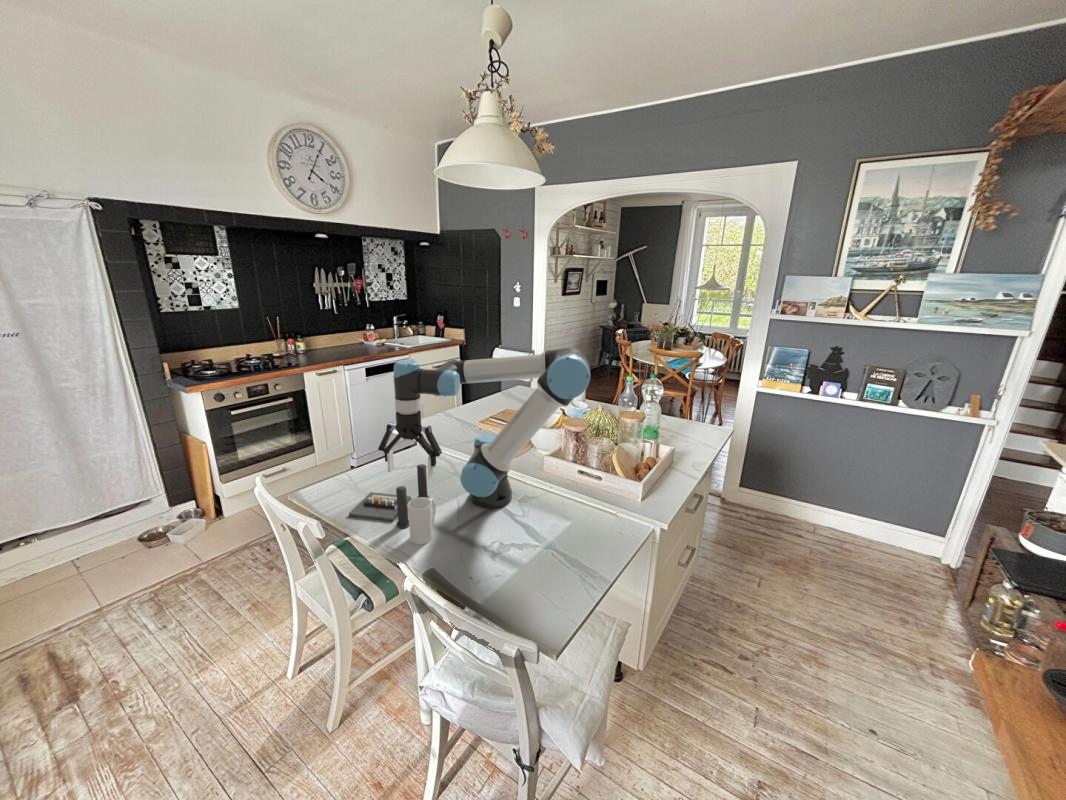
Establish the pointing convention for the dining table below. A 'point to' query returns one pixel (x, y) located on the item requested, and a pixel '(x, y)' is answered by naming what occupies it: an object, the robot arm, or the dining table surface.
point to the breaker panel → (377, 507)
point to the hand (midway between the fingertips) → (411, 472)
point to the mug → (421, 519)
